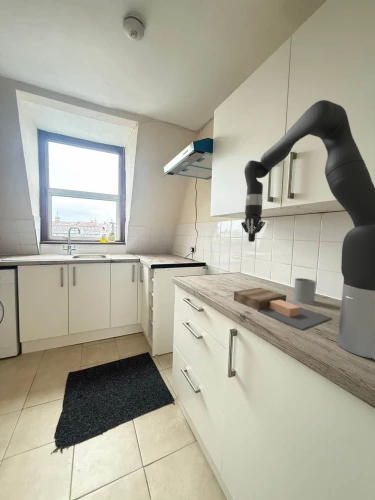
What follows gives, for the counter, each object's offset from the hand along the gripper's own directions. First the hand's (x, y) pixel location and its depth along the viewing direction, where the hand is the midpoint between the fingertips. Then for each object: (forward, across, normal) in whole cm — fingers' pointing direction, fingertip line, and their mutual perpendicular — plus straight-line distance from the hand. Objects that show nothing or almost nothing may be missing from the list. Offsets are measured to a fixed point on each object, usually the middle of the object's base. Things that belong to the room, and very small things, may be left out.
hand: (251, 241), depth 95 cm
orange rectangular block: (+27, -21, +2) cm, 34 cm away
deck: (+27, -8, +2) cm, 28 cm away
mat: (+27, -24, +2) cm, 36 cm away
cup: (+27, -16, -20) cm, 37 cm away
